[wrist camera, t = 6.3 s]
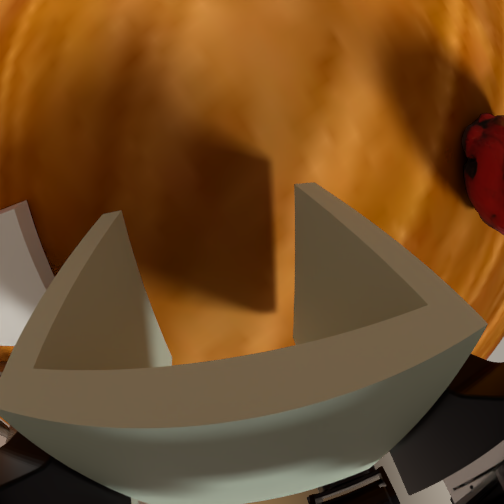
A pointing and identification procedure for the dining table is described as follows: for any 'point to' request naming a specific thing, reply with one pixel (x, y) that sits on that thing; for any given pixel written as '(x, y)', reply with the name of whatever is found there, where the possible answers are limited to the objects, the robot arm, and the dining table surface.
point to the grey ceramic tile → (20, 271)
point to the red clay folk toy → (486, 168)
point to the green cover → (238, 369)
